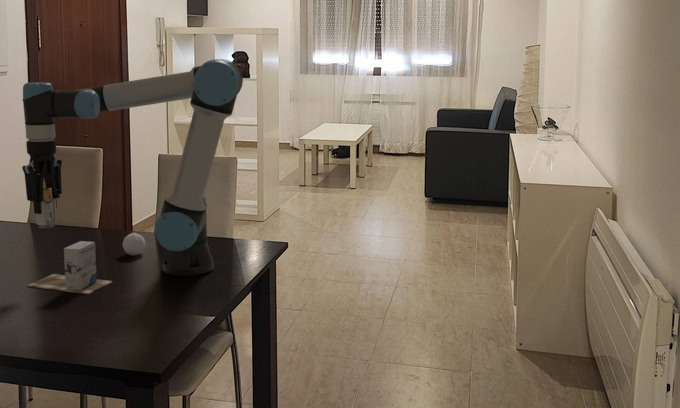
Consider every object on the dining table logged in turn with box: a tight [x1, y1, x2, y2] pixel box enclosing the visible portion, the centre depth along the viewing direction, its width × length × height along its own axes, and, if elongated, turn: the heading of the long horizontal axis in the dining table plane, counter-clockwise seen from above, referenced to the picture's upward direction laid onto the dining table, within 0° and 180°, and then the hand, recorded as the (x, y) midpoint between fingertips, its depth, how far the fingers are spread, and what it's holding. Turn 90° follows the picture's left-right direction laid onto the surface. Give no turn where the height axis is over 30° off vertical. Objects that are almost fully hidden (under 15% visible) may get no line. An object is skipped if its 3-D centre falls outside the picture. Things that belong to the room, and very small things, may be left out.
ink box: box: [63, 240, 97, 290], centre depth 206 cm, size 9×5×12 cm, turn 167°
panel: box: [27, 273, 113, 295], centre depth 209 cm, size 20×11×1 cm, turn 73°
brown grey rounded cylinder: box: [38, 186, 55, 229], centre depth 206 cm, size 4×4×11 cm
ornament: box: [122, 231, 147, 256], centre depth 239 cm, size 7×7×8 cm
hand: (46, 222), depth 207 cm, fingers closed on brown grey rounded cylinder, 4 cm apart
